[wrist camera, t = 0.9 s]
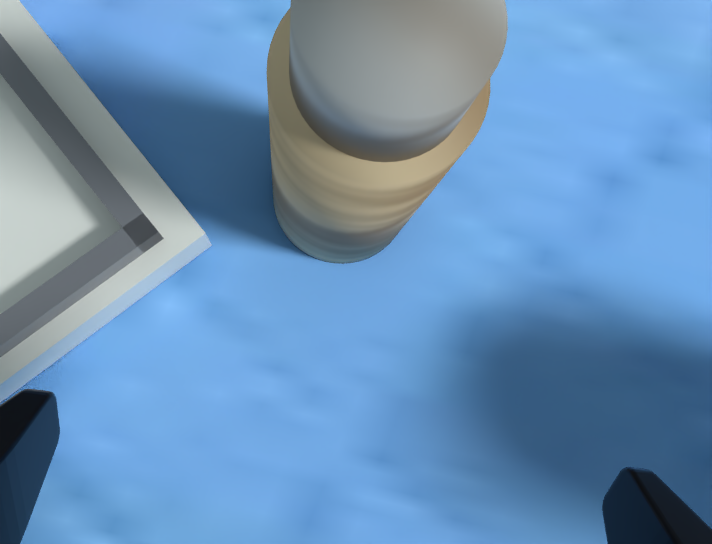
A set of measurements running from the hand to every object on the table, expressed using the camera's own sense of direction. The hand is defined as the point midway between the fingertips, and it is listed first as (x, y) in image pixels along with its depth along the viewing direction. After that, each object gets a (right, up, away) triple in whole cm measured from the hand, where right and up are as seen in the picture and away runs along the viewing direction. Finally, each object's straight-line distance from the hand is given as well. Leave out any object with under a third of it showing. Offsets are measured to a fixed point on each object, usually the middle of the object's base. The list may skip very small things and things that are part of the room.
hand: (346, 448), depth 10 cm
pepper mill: (0, +6, +14) cm, 15 cm away
